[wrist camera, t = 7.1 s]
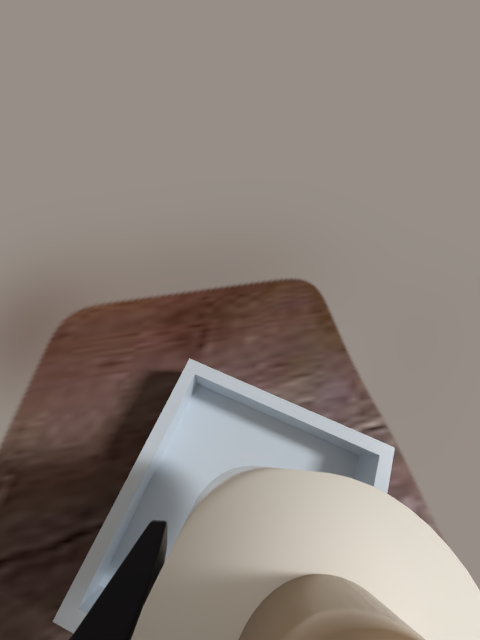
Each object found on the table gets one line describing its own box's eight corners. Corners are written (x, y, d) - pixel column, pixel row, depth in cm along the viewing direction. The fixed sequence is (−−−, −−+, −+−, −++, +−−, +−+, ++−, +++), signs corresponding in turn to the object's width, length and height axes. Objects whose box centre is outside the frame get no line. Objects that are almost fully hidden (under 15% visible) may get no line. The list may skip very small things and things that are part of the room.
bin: (313, 717, 16) (338, 783, 12) (82, 591, 17) (52, 621, 14) (368, 449, 21) (394, 447, 18) (193, 372, 23) (189, 358, 20)
